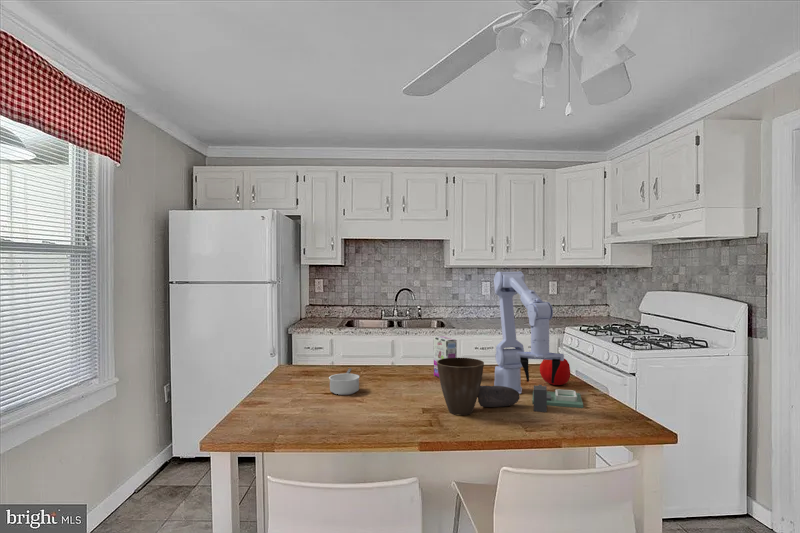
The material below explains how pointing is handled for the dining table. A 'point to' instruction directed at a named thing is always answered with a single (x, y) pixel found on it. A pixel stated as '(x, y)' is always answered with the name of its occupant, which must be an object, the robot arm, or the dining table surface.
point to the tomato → (561, 374)
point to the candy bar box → (443, 350)
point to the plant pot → (460, 383)
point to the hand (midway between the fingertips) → (540, 381)
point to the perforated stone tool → (497, 396)
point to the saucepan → (344, 383)
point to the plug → (540, 398)
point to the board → (563, 398)
